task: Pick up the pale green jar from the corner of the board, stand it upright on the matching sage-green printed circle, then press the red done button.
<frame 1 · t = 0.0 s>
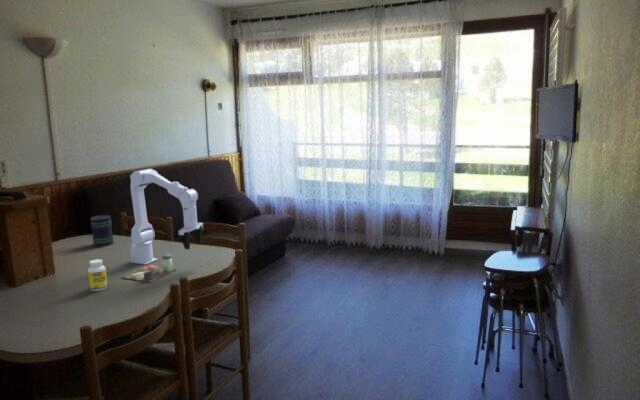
hand: (192, 246, 209), 10 cm above the table, tool pointing down, fingers open, 7 cm apart
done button: (151, 268, 198), point 5 cm above the table, slide at 0.0 cm
storage jar: (103, 244, 251), on the table
pale green jar: (168, 270, 207), point 1 cm above the table, touching board
board: (149, 274, 205), on the table
pill bottle: (99, 288, 190), on the table
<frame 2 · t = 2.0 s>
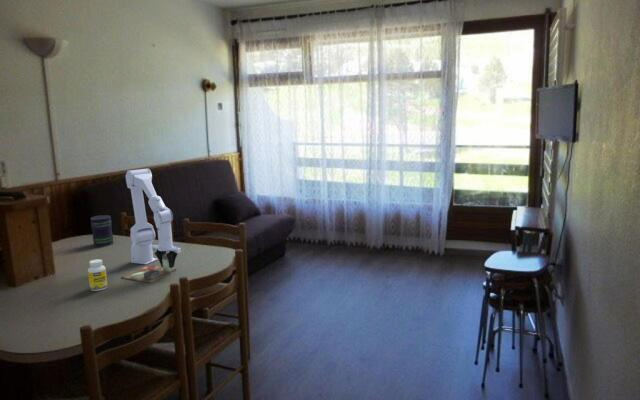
hand: (167, 266, 207), 2 cm above the table, tool pointing down, fingers closed on pale green jar, 4 cm apart
pale green jar: (168, 270, 207), point 1 cm above the table, touching board, gripper
everything else where it was.
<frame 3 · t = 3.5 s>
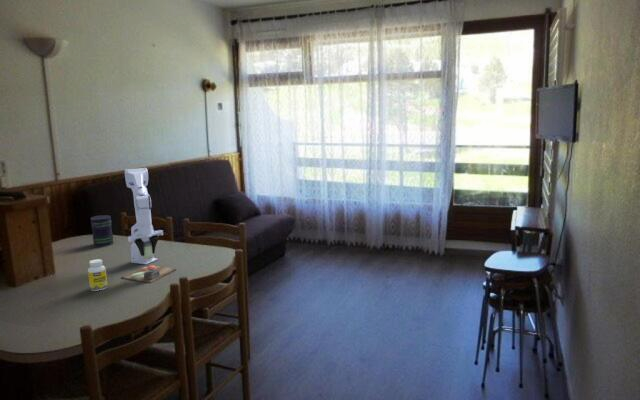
hand: (147, 254, 202), 9 cm above the table, tool pointing down, fingers closed on pale green jar, 4 cm apart
pale green jar: (148, 258, 202), point 8 cm above the table, touching gripper
everything else where it was.
when the fingers open (3 cm above the table, at t = 5.4 s): pale green jar stays where it is, resting on board.
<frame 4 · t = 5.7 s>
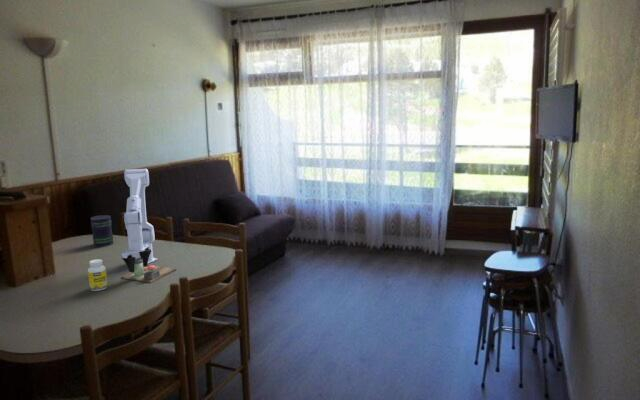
hand: (138, 269, 201), 3 cm above the table, tool pointing down, fingers open, 7 cm apart
pale green jar: (139, 275, 202), point 1 cm above the table, touching board
everything else where it was.
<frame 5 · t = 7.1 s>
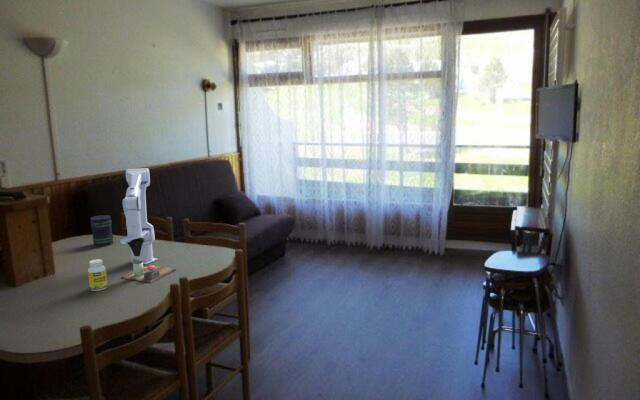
hand: (137, 255, 200), 9 cm above the table, tool pointing down, fingers closed
nothing on the table moved.
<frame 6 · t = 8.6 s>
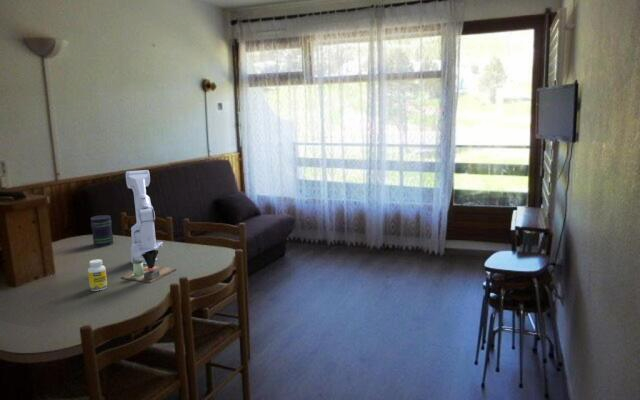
hand: (151, 267, 198), 5 cm above the table, tool pointing down, fingers closed, pressing on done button
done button: (151, 269, 198), point 4 cm above the table, slide at 0.5 cm, touching gripper
everything else where it was.
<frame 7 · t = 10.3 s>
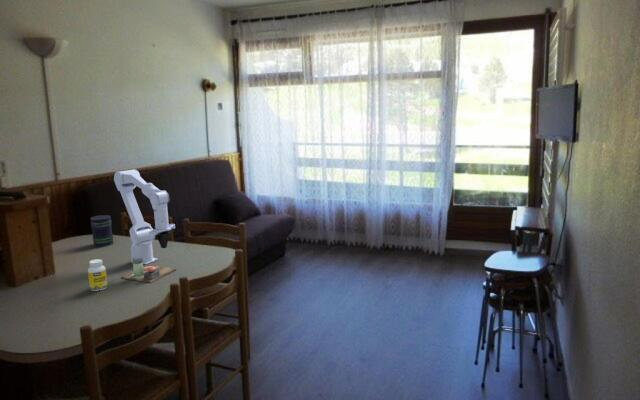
hand: (164, 247, 211), 9 cm above the table, tool pointing down, fingers closed
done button: (151, 269, 198), point 4 cm above the table, slide at 0.7 cm
everything else where it was.
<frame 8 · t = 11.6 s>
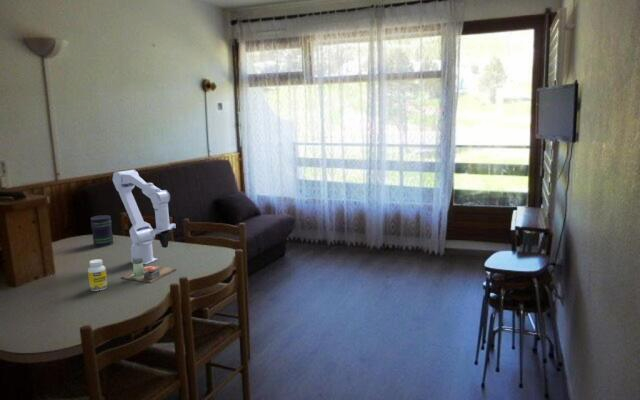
hand: (164, 247, 211), 9 cm above the table, tool pointing down, fingers closed
nothing on the table moved.
at the end: pale green jar 0.0 cm from the target spot, point 0.7 cm above the table; pale green jar tilted 0°; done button slide at 0.7 cm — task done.
